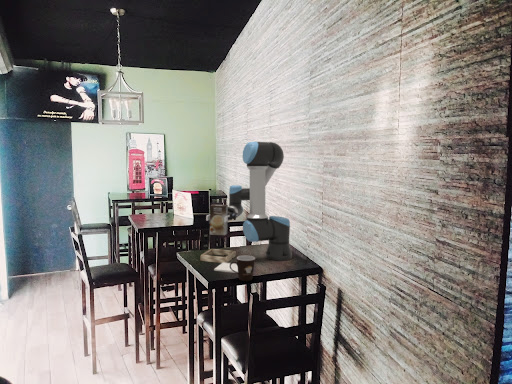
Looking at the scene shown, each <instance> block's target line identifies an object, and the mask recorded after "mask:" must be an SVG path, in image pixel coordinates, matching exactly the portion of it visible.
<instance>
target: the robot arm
mask: <svg viewBox="0 0 512 384" xmlns="http://www.w3.org/2000/svg"><path fill="white" fill-rule="evenodd" d="M284 155H285V154H284V151H283V149H282V147H281V146H280V145H279V143H276V142H272V141H269V142H268V141H248V142H247V143H246V144H245V145H244V147H243V150H242V161H243V163H244V164H246V168H247V169H248V170H249V187H247V188H245V187H242V185H239V184H238V185H237V184H235V185H230V186H229V189H228V190H229V191H228V194H229V195H228V197H229V202H228V203H229V205H228V216H226V217H224V222H227V221H228V222H229V221H232V220H233V221H236V220H237V218H238V217H240V216H241V215H242V214H243V212H244V208H243V206H242V202H243V201H249V214H248V215H247V217H246V220H245V221H244V222H243V223H242V231H243V234H244V237H245V238H246V240H247V241H248V242H251V243H252V242H255V243H257V242H265V241H268V245H267V247H266V250H265V253H264V255H265V256H264V257H265V258H266V259H267V260H271V261H278V262H280V261H289V260H291V259H292V257H293V253H292V250H291V246H290V230H291V229H290V228H291V222H290V219H289V218H287V217H282V216H277V215H270V216H268V215H267V214H266V186H267V185H268V183H269V181H270V180H271V178H272V177H273V175H274V174H275V172H276V170H277V169H279V168H280V167H281V165H282V164H283V161H284V157H285V156H284ZM205 218H206V219H205V220H206V221H207V222H208V221H210V212H208V213H206V217H205ZM228 222H227V223H228Z"/></svg>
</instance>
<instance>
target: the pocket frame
mask: <svg viewBox="0 0 512 384" xmlns="http://www.w3.org/2000/svg"><path fill="white" fill-rule="evenodd" d="M236 254H237V251H236V250H227V249H218V248H217V249H216V248H210V249H208V250H206V251H205V252H204V253H201V255H200V261H203V262H209V263H219V264H221V263H230V261H232V260H233V259H235V257H236V256H237V255H236ZM224 255H228V256H224ZM232 258H233V259H232Z"/></svg>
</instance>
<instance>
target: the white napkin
mask: <svg viewBox="0 0 512 384" xmlns="http://www.w3.org/2000/svg"><path fill="white" fill-rule="evenodd" d="M230 263H231V262H228V263H219V265H218V266H216V267H215V268H214V269H213V271H215V272H223V273H233V274H234V273H235V272H233V271H232V270H234V271H236V272H238V266H237V264H236V263H233V264H231V268H232V270H231V269H230ZM235 274H236V273H235Z"/></svg>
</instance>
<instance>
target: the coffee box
mask: <svg viewBox="0 0 512 384" xmlns="http://www.w3.org/2000/svg"><path fill="white" fill-rule="evenodd" d="M228 207H229V205H228V204H219V203H218V204H215V203H212V204H211V205H210V206H209V213H210V220H209V235H216V236H226V235H227V234H228V223H229V221H227V222H224V217H226V216H228Z"/></svg>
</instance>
